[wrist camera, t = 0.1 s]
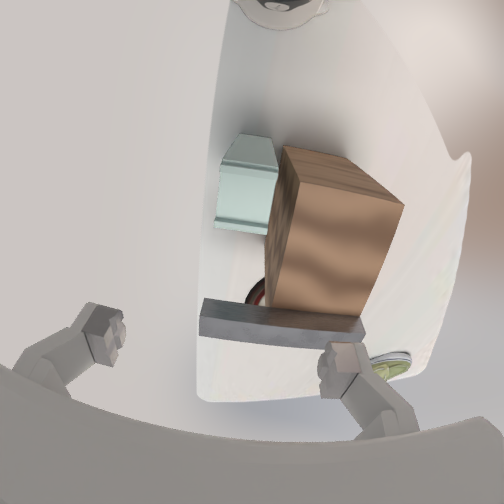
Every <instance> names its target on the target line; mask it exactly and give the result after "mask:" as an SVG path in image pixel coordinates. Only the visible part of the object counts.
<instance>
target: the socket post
mask: <svg viewBox="0 0 504 504" xmlns="http://www.w3.org/2000/svg"><path fill="white" fill-rule="evenodd" d="M278 168H279V167H278V163H277V159H276V155H275V151H274V147H273V143H272V139H271V138H268V137H261V136H255V135H248V134H239V135H238V137H237V138H236V140H235V141H234V142H233V144H232V145H231V147H230V148H229V150H228V151H227V153H226V154H225V156H224V157H223V159H222V163H221V165H220V172H221V173H220V181H219V190H218V199H217V209H216V218H215V220H214V228H221V229H228V230H235V231H242V232H249V233H256V234H263V235H267V231H268V222H269V216H270V211H271V206H272V200H273V195H274V190H275V184H276V181H277V178H278Z"/></svg>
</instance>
